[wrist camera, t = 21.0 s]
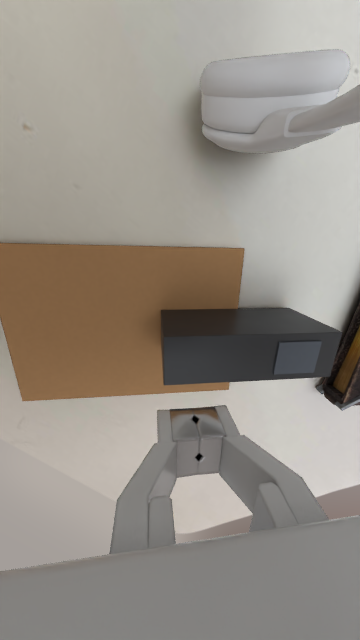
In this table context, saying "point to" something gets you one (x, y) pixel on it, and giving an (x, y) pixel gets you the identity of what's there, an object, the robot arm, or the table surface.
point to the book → (345, 370)
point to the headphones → (276, 100)
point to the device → (244, 345)
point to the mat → (104, 313)
